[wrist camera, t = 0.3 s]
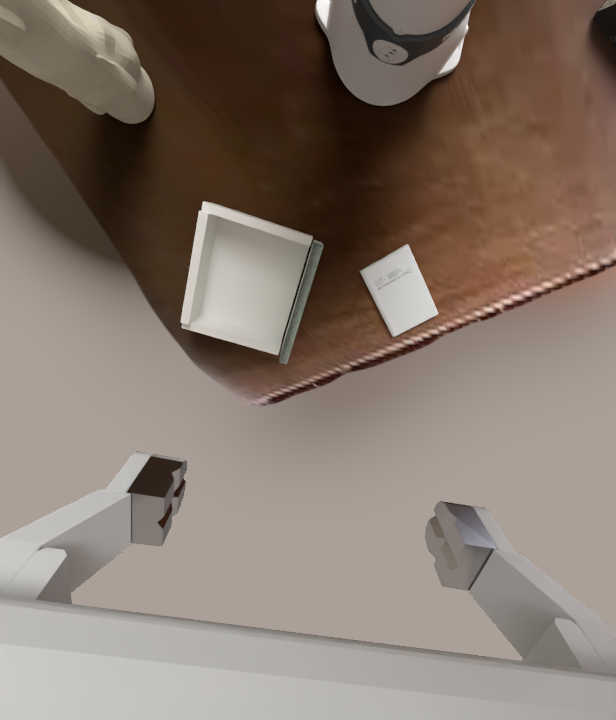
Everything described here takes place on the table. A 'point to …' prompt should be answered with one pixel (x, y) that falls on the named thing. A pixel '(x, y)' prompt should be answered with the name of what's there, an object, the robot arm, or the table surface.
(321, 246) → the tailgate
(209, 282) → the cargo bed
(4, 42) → the cream statue
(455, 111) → the table surface
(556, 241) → the table surface
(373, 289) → the external hard drive
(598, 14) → the portable cd player
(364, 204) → the table surface
